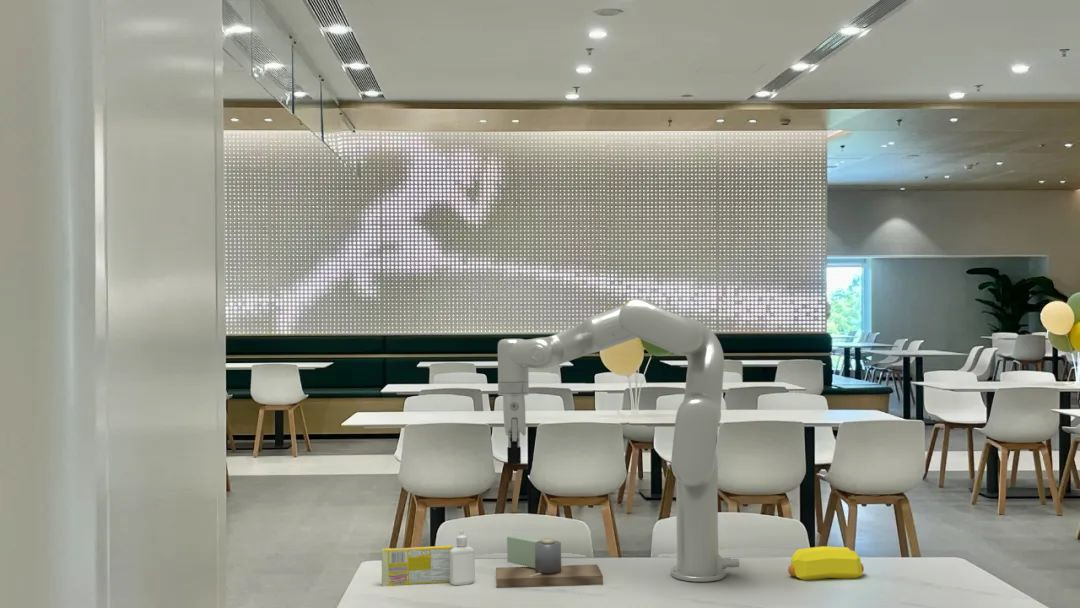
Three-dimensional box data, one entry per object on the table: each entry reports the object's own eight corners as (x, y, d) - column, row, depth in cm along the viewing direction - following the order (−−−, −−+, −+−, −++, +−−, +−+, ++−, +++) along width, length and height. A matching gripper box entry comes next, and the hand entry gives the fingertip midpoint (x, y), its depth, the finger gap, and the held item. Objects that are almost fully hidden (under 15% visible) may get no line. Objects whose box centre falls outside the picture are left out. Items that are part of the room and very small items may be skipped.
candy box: (452, 580, 221) (452, 544, 221) (453, 583, 219) (452, 547, 219) (382, 584, 219) (381, 547, 219) (381, 586, 217) (381, 550, 217)
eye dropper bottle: (472, 585, 216) (471, 532, 216) (448, 585, 217) (447, 532, 217) (476, 580, 220) (475, 528, 221) (452, 580, 221) (451, 528, 221)
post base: (597, 572, 226) (597, 563, 226) (602, 584, 216) (602, 574, 216) (496, 576, 224) (495, 566, 224) (496, 587, 214) (496, 577, 214)
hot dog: (870, 580, 217) (856, 571, 225) (870, 550, 217) (856, 542, 225) (793, 583, 216) (782, 574, 223) (793, 553, 216) (781, 545, 223)
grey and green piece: (566, 569, 220) (566, 539, 220) (549, 574, 216) (549, 543, 216) (518, 559, 230) (518, 530, 230) (501, 564, 226) (501, 534, 226)
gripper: (530, 390, 227) (531, 467, 227) (527, 386, 242) (527, 459, 242) (498, 391, 227) (499, 468, 226) (497, 387, 242) (498, 459, 241)
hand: (514, 463), depth 234 cm, fingers closed
